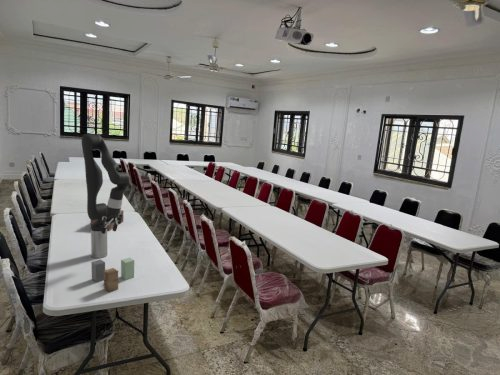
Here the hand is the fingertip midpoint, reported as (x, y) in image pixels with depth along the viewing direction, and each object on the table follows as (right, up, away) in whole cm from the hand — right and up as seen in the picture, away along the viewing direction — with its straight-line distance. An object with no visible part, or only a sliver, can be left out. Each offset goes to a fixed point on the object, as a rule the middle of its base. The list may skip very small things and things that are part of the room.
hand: (108, 232), depth 199 cm
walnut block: (+11, -26, -24) cm, 37 cm away
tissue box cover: (-32, -5, +75) cm, 81 cm away
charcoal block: (+1, -24, -15) cm, 28 cm away
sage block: (+14, -24, -10) cm, 29 cm away
